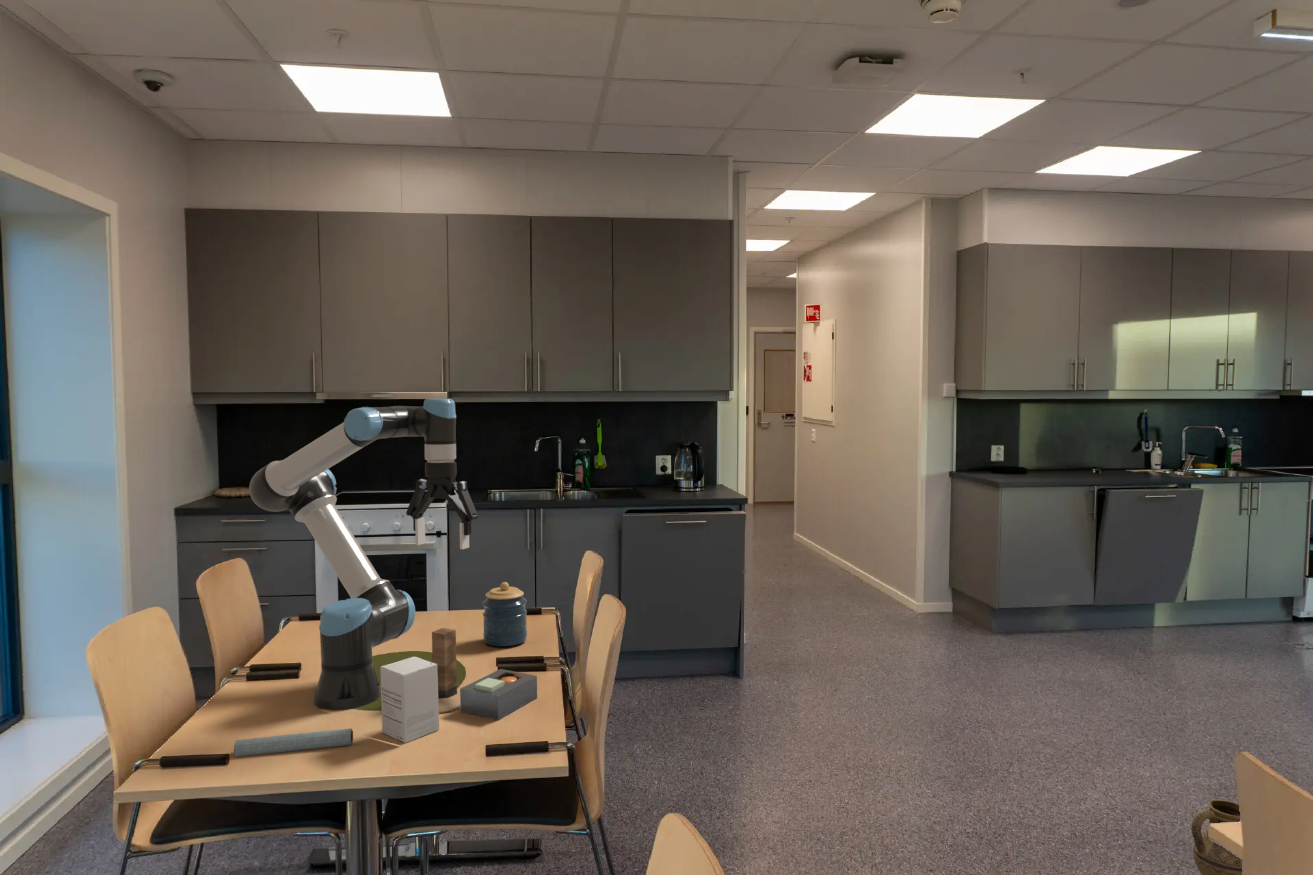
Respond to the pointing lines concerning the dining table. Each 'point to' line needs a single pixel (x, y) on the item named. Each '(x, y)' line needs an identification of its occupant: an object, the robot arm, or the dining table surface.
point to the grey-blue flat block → (293, 742)
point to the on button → (490, 685)
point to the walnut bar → (445, 661)
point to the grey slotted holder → (499, 695)
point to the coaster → (448, 705)
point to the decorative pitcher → (1209, 857)
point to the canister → (504, 616)
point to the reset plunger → (509, 679)
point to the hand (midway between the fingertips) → (442, 546)
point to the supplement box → (409, 699)
